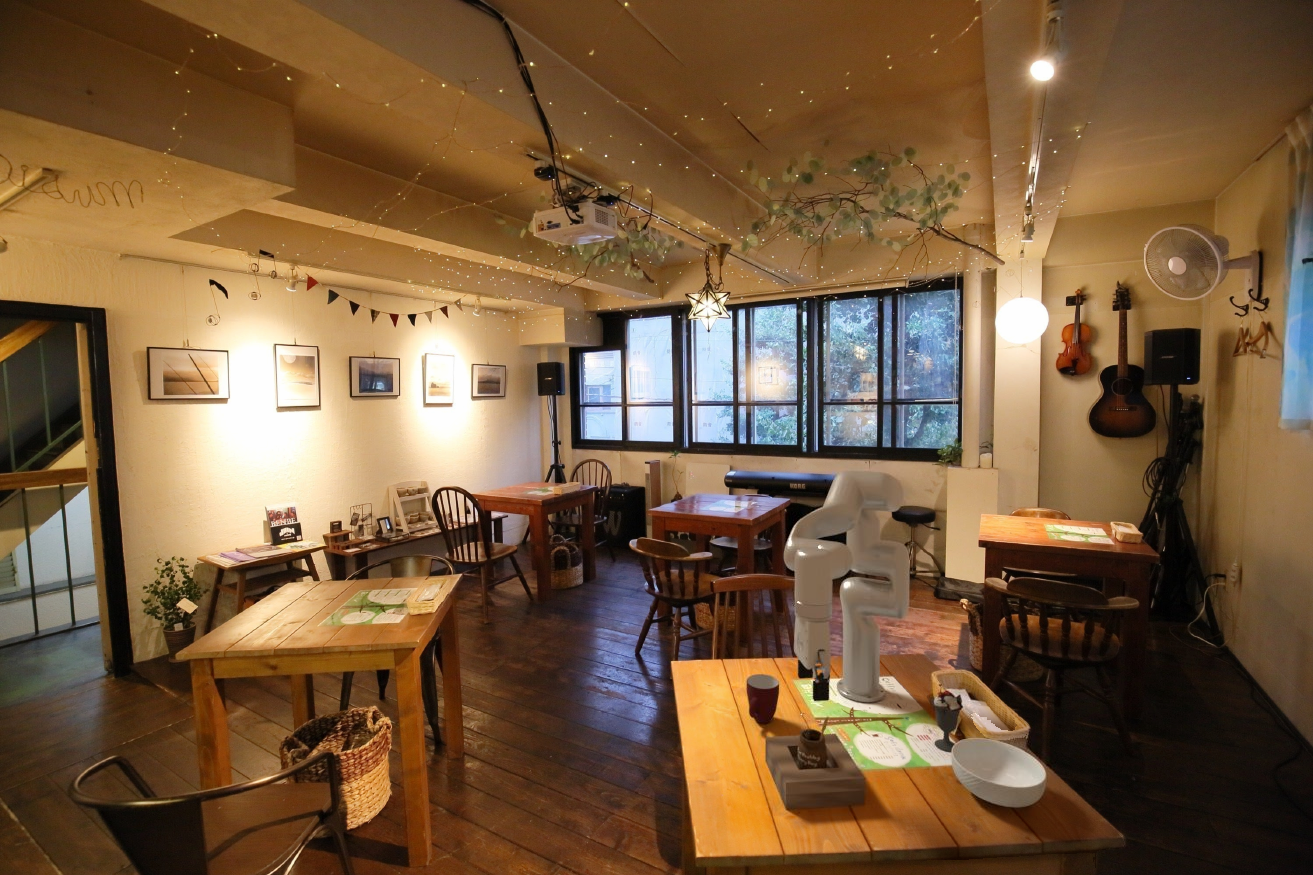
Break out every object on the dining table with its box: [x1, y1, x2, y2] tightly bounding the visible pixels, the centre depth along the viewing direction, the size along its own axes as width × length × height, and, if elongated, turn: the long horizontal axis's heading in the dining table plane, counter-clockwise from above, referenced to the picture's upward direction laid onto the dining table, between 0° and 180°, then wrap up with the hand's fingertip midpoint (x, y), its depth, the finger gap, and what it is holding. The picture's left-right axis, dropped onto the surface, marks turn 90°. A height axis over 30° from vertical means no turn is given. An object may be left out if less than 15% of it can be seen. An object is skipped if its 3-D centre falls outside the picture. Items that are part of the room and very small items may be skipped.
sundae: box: [930, 683, 964, 753], centre depth 139 cm, size 7×7×15 cm
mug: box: [746, 673, 780, 725], centre depth 151 cm, size 11×8×10 cm
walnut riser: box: [764, 733, 866, 810], centre depth 127 cm, size 16×16×6 cm
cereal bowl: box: [950, 737, 1048, 808], centre depth 123 cm, size 17×17×7 cm
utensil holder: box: [798, 712, 829, 770], centre depth 127 cm, size 6×6×12 cm
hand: (812, 688), depth 126 cm, fingers open, 9 cm apart
